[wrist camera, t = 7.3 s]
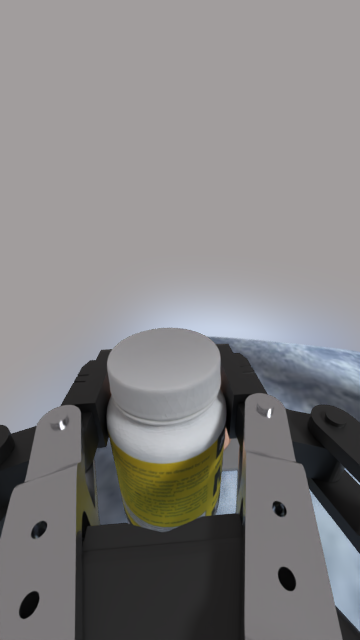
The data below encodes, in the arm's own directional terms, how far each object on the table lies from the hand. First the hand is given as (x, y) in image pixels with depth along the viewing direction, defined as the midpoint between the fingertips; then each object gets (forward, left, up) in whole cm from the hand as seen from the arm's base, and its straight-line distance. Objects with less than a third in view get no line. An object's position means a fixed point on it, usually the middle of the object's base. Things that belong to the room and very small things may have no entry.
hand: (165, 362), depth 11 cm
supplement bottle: (0, +3, -6) cm, 7 cm away
